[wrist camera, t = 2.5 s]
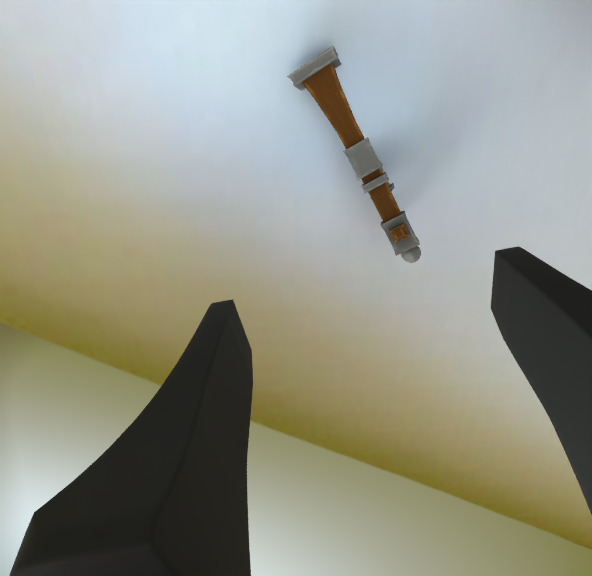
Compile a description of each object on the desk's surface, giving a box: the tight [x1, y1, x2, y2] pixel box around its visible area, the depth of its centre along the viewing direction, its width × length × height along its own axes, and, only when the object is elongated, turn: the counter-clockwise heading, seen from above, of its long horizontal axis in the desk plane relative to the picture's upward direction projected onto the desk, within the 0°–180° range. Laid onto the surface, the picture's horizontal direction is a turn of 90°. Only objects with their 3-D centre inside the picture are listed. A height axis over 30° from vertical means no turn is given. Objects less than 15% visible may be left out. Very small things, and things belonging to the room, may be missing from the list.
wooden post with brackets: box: [287, 46, 421, 263], centre depth 19 cm, size 2×8×4 cm, turn 31°
